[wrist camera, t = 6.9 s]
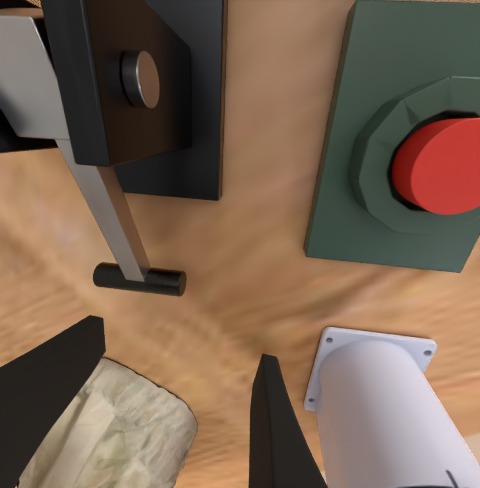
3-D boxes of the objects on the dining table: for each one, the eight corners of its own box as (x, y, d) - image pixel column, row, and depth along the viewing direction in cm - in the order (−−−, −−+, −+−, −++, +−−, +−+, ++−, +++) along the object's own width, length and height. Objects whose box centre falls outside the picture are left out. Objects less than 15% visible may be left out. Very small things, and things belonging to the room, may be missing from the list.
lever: (190, 275, 16) (179, 308, 14) (114, 266, 16) (94, 298, 14) (137, 12, 7) (92, 18, 5) (-25, 5, 7) (-115, 10, 6)
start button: (459, 206, 12) (489, 219, 10) (380, 200, 12) (397, 210, 10) (498, 122, 10) (539, 121, 9) (406, 116, 11) (430, 114, 9)
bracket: (222, 196, 16) (171, 267, 8) (99, 185, 16) (-67, 240, 8) (228, -22, 11) (130, -379, 3) (62, -26, 12) (-360, -339, 4)
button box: (447, 263, 16) (484, 291, 13) (303, 248, 16) (309, 272, 14) (564, 18, 11) (665, -20, 8) (348, 10, 11) (372, -26, 9)
